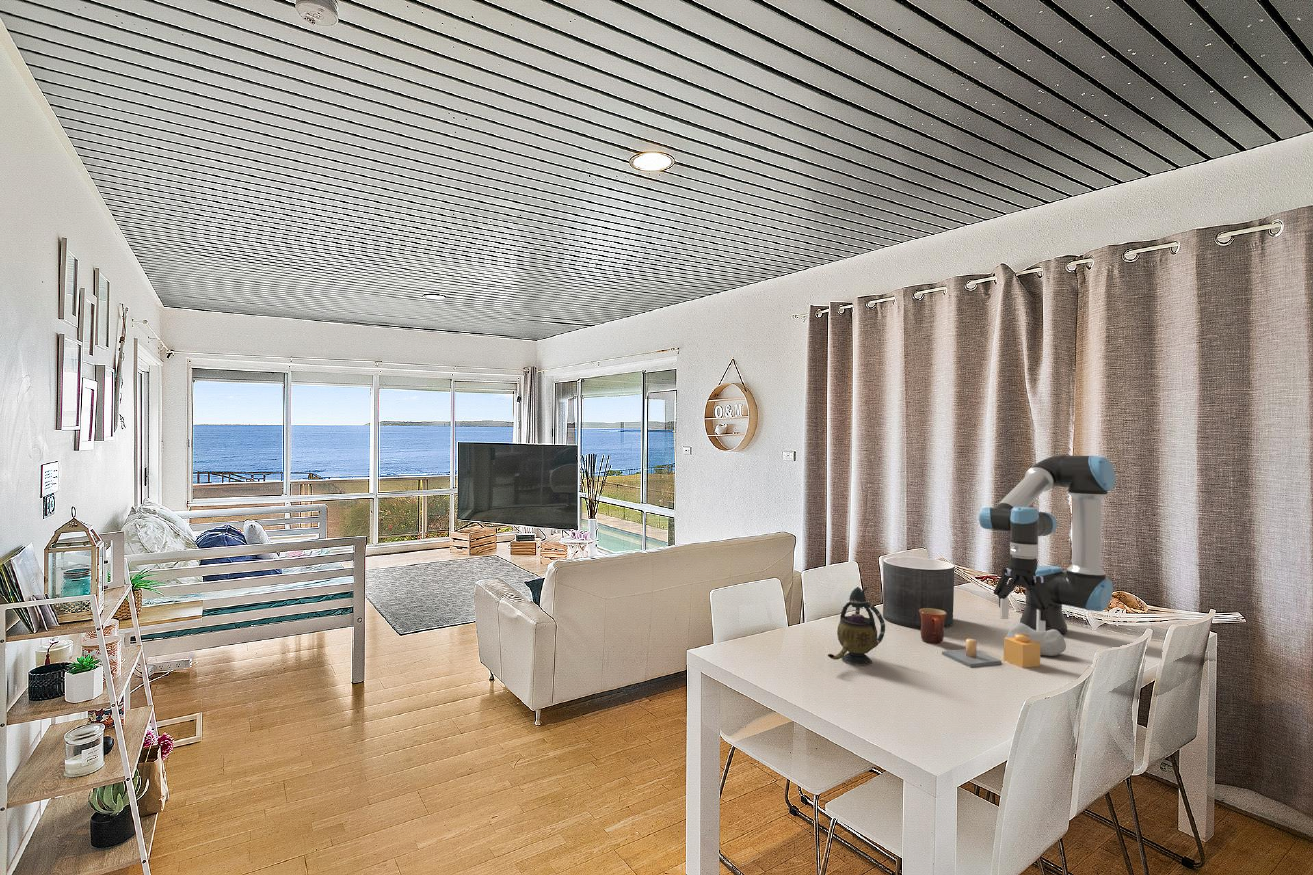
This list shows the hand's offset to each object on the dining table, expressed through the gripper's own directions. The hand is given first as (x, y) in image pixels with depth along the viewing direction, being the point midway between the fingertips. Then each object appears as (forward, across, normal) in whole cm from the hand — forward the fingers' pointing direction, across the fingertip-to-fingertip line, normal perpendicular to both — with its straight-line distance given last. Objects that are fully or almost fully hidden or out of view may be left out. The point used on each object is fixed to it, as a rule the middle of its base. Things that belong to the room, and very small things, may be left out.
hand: (1021, 624), depth 201 cm
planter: (+12, -49, +2) cm, 51 cm away
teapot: (+13, -13, -52) cm, 56 cm away
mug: (+12, -24, -12) cm, 30 cm away
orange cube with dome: (+12, 0, 0) cm, 12 cm away
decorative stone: (+12, -8, +15) cm, 21 cm away
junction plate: (+12, -7, -12) cm, 19 cm away
